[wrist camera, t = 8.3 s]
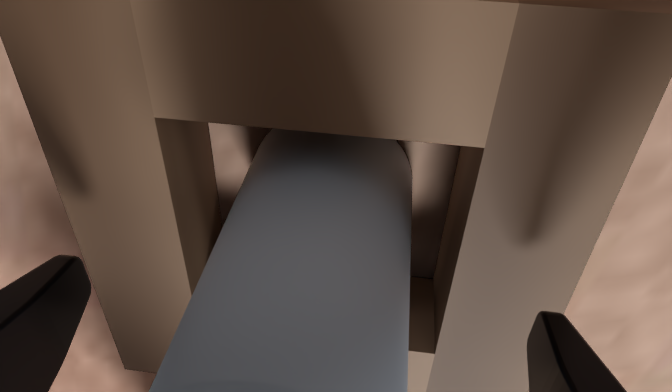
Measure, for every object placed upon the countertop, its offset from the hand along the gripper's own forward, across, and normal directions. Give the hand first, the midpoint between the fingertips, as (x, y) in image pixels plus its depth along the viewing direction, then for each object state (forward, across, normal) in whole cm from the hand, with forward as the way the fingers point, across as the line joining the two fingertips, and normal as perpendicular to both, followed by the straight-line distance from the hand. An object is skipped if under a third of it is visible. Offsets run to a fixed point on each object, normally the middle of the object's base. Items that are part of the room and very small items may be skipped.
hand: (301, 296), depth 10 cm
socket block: (+4, 0, 0) cm, 4 cm away
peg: (+4, 0, 0) cm, 4 cm away
